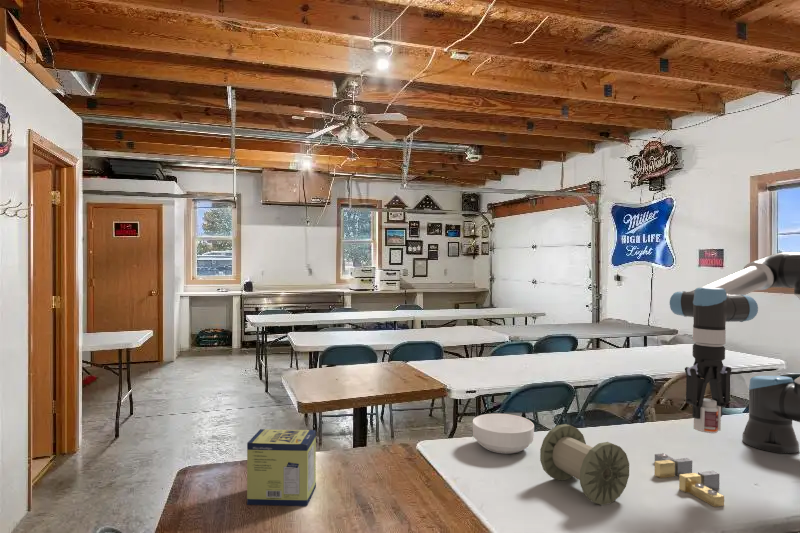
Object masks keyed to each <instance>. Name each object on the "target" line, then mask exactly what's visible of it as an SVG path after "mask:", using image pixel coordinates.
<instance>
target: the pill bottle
mask: <svg viewBox="0 0 800 533" xmlns="http://www.w3.org/2000/svg"><path fill="white" fill-rule="evenodd" d="M716 406H717V401H715V400H712V398H705V397H704V400H703V404H702V407H704V408H705V421H704V432H703V433H704V434H705V433H707V434H717V433H718V432H719V431H718V409H717V408H716Z"/></svg>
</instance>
